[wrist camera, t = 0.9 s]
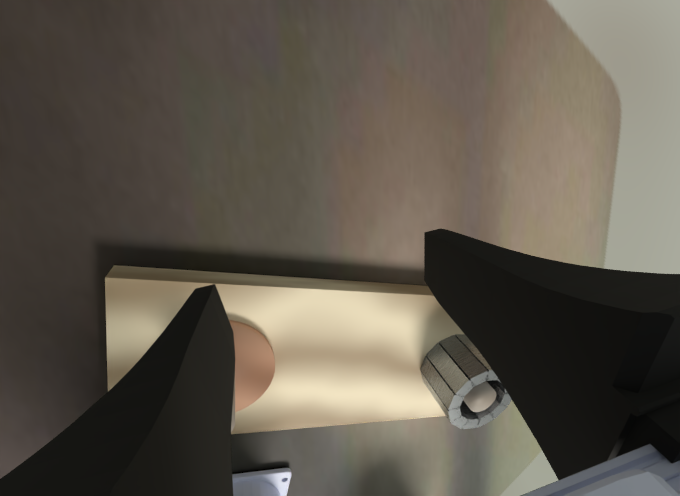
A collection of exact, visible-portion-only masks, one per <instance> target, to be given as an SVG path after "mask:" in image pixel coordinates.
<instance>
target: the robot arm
mask: <svg viewBox="0 0 680 496" xmlns="http://www.w3.org/2000/svg"><path fill="white" fill-rule="evenodd" d="M424 280H425V282H426V284H427V285H428V287H429V289H430V290H431V292H432V294H433V295H434V297H435V298H436V300H437V301H438V303H439V304H440V305H441V306H442V308H443V309H444V310H445V311H446V313H447V314H448V315H449V316H450V317H451V319H452V320H453V321H454V322H455V323H456V324H457V326H458V327H459V328H460V329H461V330H462V332H463V333H464V334H465V335H466V336H467V337H468V339H469V340H470V341H471V342H472V343H473V345H474V346H475V347H476V348H477V349H478V351H479V352H480V353H481V355H482V356H483V357H484V358H485V360H486V361H487V363H488V364H489V366H490V367H491V369H492V370H493V372H494V373H495V374H496V376H497V377H498V379H499V380H500V382H501V383H502V385H503V386H504V388H505V390H506V391H507V393H508V394H509V396H510V397H511V399H512V401H513V402H514V404H515V405H516V407H517V408H518V410H519V412H520V413H521V415H522V417H523V418H524V420H525V422H526V423H527V425H528V427H529V428H530V430H531V432H532V433H533V435H534V437H535V438H536V440H537V442H538V443H539V445H540V447H541V449H542V451H543V452H544V454H545V456H546V458H547V460H548V461H549V463H550V465H551V467H552V469H553V470H554V472H555V474H556V476H557V478H558V481H556V482H553V483H551V484H548V485H546V486H544V487H541V488H538V489H536V490H533V491H531V492H529V493H526V494H524V495H521V496H680V274H657V273H643V272H630V271H620V270H610V269H602V268H595V267H588V266H581V265H575V264H569V263H563V262H558V261H554V260H549V259H544V258H539V257H535V256H531V255H527V254H524V253H520V252H516V251H512V250H509V249H506V248H502V247H499V246H496V245H493V244H489V243H486V242H483V241H480V240H477V239H474V238H471V237H468V236H465V235H462V234H459V233H456V232H452V231H449V230H445V229H437V230H433V231H429V232H425V275H424ZM234 376H235V345H234V333H233V329H232V327H231V324H230V322H229V319H228V316H227V314H226V311H225V308H224V306H223V303H222V301H221V298H220V295H219V293H218V290H217V288H216V285H215V284H213V285H208V286H204V287H200V288H196V289H195V290H194V291H193V292H192V294H191V295H190V296H189V298H188V299H187V300H186V302H185V303H184V304H183V306H182V307H181V309H180V310H179V311H178V313H177V314H176V315H175V317H174V318H173V319H172V321H171V322H170V323H169V325H168V326H167V327H166V329H165V330H164V331H163V332H162V334H161V335H160V336H159V337H158V338H157V340H156V341H155V342H154V343H153V344H152V346H151V347H150V348H149V349H148V350H147V352H146V353H145V354H144V355H143V356H142V357H141V359H140V360H139V361H138V362H137V363H136V364H135V365H134V366H133V367H132V368H131V369H130V370H129V372H128V373H127V374H126V375H125V376H124V377H123V378H122V379H121V380H120V381H119V382H118V383H117V384H116V385H115V386H114V387H113V388H112V389H110V390H109V391H108V392H107V393H106V394H105V395H104V396H103V397H102V398H101V399H100V400H98V401H97V402H96V403H95V404H94V405H93V406H92V407H91V408H89V409H88V410H87V411H86V412H85V413H84V414H83V415H82V416H80V417H79V418H78V419H77V420H76V421H75V422H74V423H72V424H71V425H70V426H69V427H68V428H66V429H65V430H64V431H63V432H61V433H60V434H59V435H58V436H57V437H55V438H54V439H53V440H52V441H50V442H49V443H48V444H47V445H45V446H44V447H43V448H41V449H40V450H39V451H37V452H36V453H35V454H34V455H32V456H31V457H30V458H28V459H27V460H26V461H24V462H23V463H22V464H20V465H19V466H18V467H16V468H15V469H14V470H12V471H11V472H10V473H8V474H7V475H5V476H4V477H2V478H1V479H0V496H287V491H288V487H289V483H290V479H291V469H290V468H279V469H271V470H263V471H255V472H247V473H239V474H232V456H231V422H232V406H233V391H234Z"/></svg>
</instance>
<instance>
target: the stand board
mask: <svg viewBox="0 0 680 496" xmlns="http://www.w3.org/2000/svg"><path fill="white" fill-rule="evenodd" d="M213 284H215V285H216V288H217V290H218V293H219V295H220V298H221V301H222V303H223V306H224V308H225V311H226V314H227V316H228V319H229V322H230V324H231V327H232V329H233V333H234V345H235V376H234V391H233V406H232V422H231V434H240V433H252V432H264V431H275V430H287V429H299V428H310V427H322V426H333V425H345V424H357V423H368V422H380V421H392V420H403V419H415V418H427V417H438V416H446V415H445V413H444V412H443V410H442V409H441V407H440V406H439V404H438V403H437V401H436V400H435V398H434V397H433V395H432V394H431V393H430V391H429V390H428V388H427V387H426V385H425V384H424V382H423V379H422V375H421V372H420V369H421V366H422V363H423V360H424V358H425V356H427V355H426V354H427V353H428V352H429V351H430V350H431V349H432V348H433V347H434V346H435V345H436V344H437V343H439V341H441V340H443V339H446V338H448V337H450V336H452V335H455V334H464V333H463V332H462V330H461V329H460V328H459V327H458V326H457V324H456V323H455V322H454V321H453V320H452V319H451V317H450V316H449V315H448V314H447V313H446V311H445V310H444V309H443V308H442V306H441V305H440V304H439V303H438V301H437V300H436V298H435V297H434V295H433V294H432V292H431V290H430V289H429V287H428V286H422V285H407V284H392V283H377V282H361V281H346V280H331V279H316V278H300V277H285V276H270V275H255V274H239V273H224V272H209V271H194V270H178V269H163V268H148V267H133V266H117V265H114V266H113V267H112V269H111V270H110V271H109V273H108V274H107V276H106V277H105V298H106V337H107V375H108V391H109V390H110V389H112V388H113V387H114V386H115V385H116V384H117V383H118V382H119V381H120V380H121V379H122V378H123V377H124V376H125V375H126V374H127V373H128V372H129V370H130V369H131V368H132V367H133V366H134V365H135V364H136V363H137V362H138V361H139V360H140V359H141V357H142V356H143V355H144V354H145V353H146V352H147V350H148V349H149V348H150V347H151V346H152V344H153V343H154V342H155V341H156V340H157V338H158V337H159V336H160V335H161V334H162V332H163V331H164V330H165V329H166V327H167V326H168V325H169V323H170V322H171V321H172V319H173V318H174V317H175V315H176V314H177V313H178V311H179V310H180V309H181V307H182V306H183V304H184V303H185V302H186V300H187V299H188V298H189V296H190V295H191V294H192V292H193V291H194V290H195V289H196V288H200V287H204V286H208V285H213ZM495 398H496V391H495V390H494V389H493V388H492V387H491V386H490V385H489V383H488V382H487V381H485V382H483V383H481V384H479V385H477V386H475V387H473V388H472V389H471V390H470V391H469V392H468V393H467V394H466V395H465V396H464V399H463V400H464V402H465V403H466V404H467V406H468V407H469V408H470V410H471V411H473V412H480V411H483V410H485V409H487V408H488V407H489V406H491V405H492V403H493V402H494V400H495Z"/></svg>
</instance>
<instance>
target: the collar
mask: <svg viewBox="0 0 680 496" xmlns="http://www.w3.org/2000/svg"><path fill="white" fill-rule="evenodd" d="M426 355H427V356H425V358H424V360H423V363H422V366H421V369H420V372H421V375H422V379H423V382H424V384H425V385H426V387H427V388H428V390H429V391H430V393H431V394H432V395H433V397H434V398H435V400H436V401H437V403H438V404H439V406H440V407H441V409H442V410H443V412H444V413H445V415H446V416H447V418H448V419H449V421H450V422H451V424H453V425H455V426H457V427H459V428H460V429H470V428H477V427H480V426H482V425H484V424H486V423H488V422H490V421H492V420H494V418H496V417H497V416H498V415H499V414H500V413H501V412H502V411H504V410H505V409H506V408H507V407H508V406H507V405H509V404H510V402H511V397H510V396H509V394H508V393H507V391H506V390H505V388H504V386H503V385H502V383H501V382H500V380H499V379H498V377H497V376H496V374H495V373H494V372H493V370H492V369H491V367H490V366H489V364H488V363H487V361H486V360H485V358H484V357H483V356H482V355H481V353H480V352H479V351H478V349H477V348H476V347H475V346H474V345H473V343H472V342H471V341H470V340H469V339H468V337H467V336H466V335H465V334H455V335H452V336H450V337H448V338H446V339H443V340H441V341H439V343H437V344H436V345H435V346H434V347H433V348H432V349H431V350H430V351H429V352H428V353H427V354H426ZM485 381H487V382H488V383H489V385H490V386H491V387H492V388H493V389H494V390H495V391H496V398H495V400H494V402H493V403H492V405H491V406H489V407H488V408H487V409H485V410H483V411H480V412H473V411H471V410H470V408H469V407H468V406H467V404H466V403H465V402H464V400H463V399H464V396H465V395H466V394H467V393H468V392H469V391H470V390H471V389H472V388H473V387H475V386H477V385H479V384H481V383H483V382H485Z"/></svg>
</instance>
